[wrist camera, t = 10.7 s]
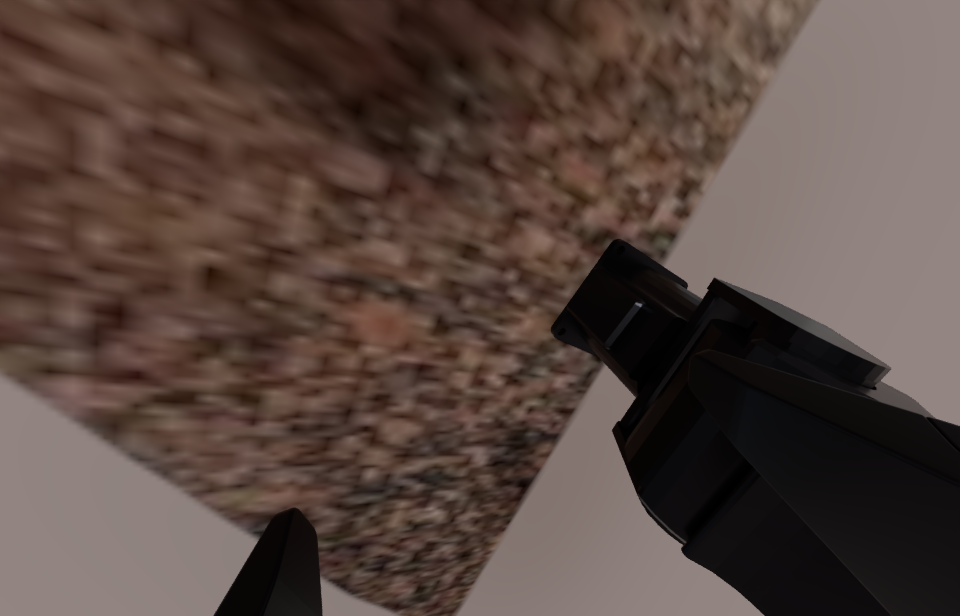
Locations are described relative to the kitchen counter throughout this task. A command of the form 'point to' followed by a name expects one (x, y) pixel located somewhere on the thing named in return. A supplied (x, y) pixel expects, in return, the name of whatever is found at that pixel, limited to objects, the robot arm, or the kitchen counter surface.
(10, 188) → the kitchen counter surface
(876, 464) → the robot arm
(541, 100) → the kitchen counter surface
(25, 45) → the kitchen counter surface
